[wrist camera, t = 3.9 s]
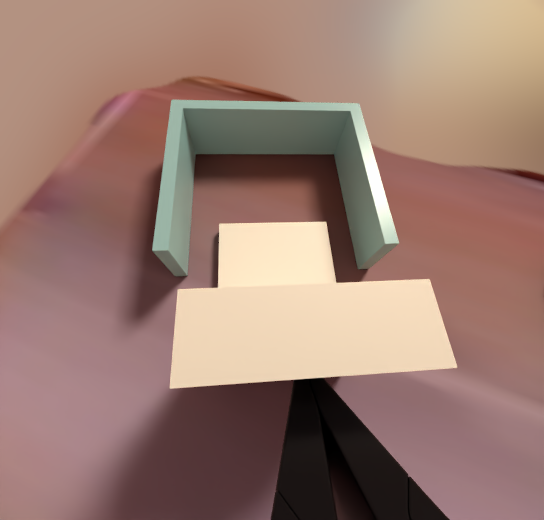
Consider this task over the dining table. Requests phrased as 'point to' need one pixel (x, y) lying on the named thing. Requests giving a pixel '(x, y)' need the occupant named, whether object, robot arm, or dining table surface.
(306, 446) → the robot arm
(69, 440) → the dining table surface
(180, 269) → the box
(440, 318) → the bookend
